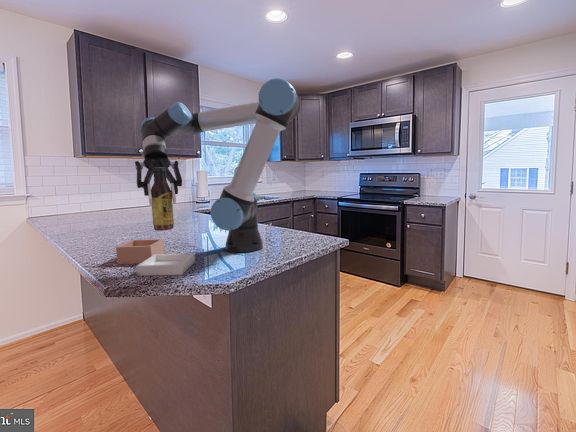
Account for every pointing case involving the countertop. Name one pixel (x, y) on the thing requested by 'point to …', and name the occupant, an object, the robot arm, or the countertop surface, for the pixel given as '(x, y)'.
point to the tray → (166, 264)
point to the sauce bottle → (161, 201)
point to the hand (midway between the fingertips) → (162, 201)
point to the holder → (139, 250)
